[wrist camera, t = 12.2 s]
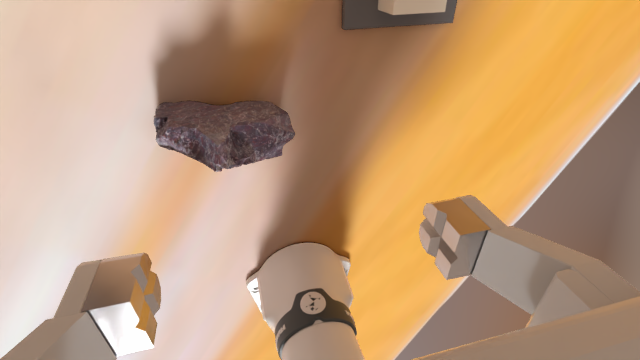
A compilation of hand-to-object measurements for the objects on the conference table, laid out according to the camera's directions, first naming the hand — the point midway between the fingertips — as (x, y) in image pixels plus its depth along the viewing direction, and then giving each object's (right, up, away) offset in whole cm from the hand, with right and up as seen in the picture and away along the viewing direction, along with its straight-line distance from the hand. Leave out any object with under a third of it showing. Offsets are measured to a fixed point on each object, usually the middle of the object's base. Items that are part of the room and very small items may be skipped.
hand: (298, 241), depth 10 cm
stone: (-11, +10, +32) cm, 35 cm away
